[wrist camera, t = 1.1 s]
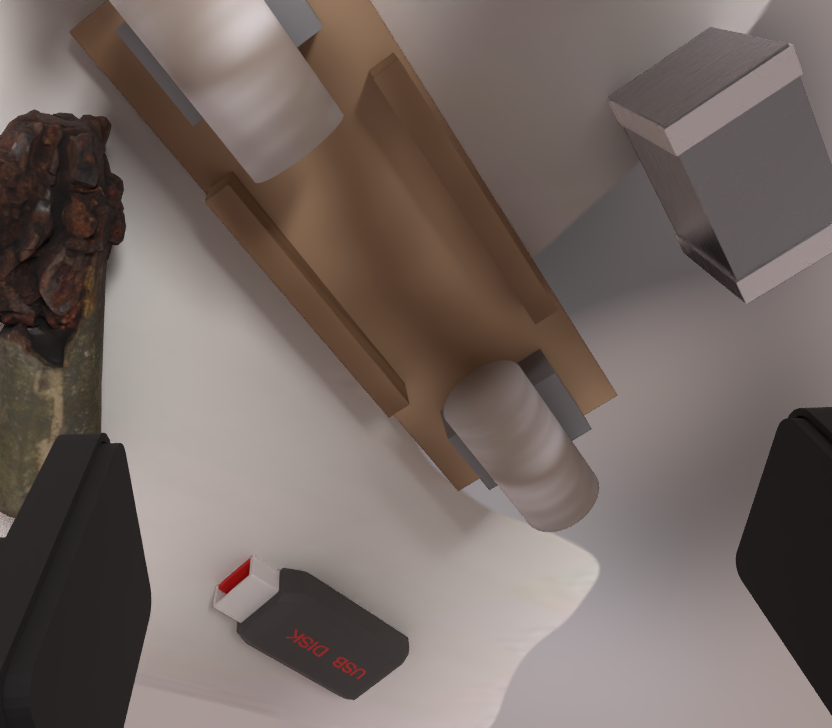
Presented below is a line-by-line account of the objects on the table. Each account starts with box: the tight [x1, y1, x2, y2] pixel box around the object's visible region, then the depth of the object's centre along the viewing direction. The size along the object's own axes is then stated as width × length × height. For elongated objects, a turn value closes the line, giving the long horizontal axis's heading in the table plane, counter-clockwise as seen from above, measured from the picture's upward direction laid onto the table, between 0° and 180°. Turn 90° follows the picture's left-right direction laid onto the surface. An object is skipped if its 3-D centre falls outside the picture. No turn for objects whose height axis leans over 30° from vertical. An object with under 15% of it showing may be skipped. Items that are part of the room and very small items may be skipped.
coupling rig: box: [70, 0, 617, 532], centre depth 32 cm, size 10×28×8 cm, turn 34°
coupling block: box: [607, 27, 832, 304], centre depth 32 cm, size 5×9×6 cm, turn 33°
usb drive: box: [213, 554, 409, 700], centre depth 45 cm, size 5×12×3 cm, turn 43°
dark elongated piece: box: [0, 110, 126, 518], centre depth 32 cm, size 18×7×6 cm, turn 165°
